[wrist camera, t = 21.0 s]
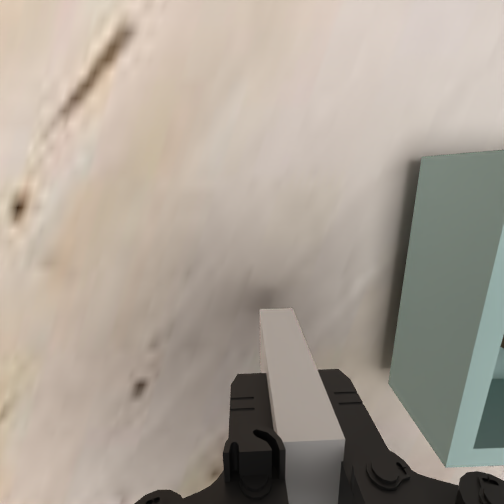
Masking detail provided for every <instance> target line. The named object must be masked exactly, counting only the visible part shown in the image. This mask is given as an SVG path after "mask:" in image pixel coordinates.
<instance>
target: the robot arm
mask: <svg viewBox="0 0 504 504" xmlns="http://www.w3.org/2000/svg"><path fill="white" fill-rule="evenodd" d="M260 366H261V373H253V374H237V376H236V378H235V379H234V381H233V383H232V384H231V397H230V418H229V438H228V440H227V441H226V443H225V447H224V451H223V463H224V470H223V472H222V474H221V475H220V476H219V478H218V479H217V480H216V481H215V482H214V483H213V484H212V485H210V486H209V487H207V488H206V489H204V490H202V491H200V492H198V493H195V494H193V495H191V496H188V497H186V498H184V499H183V498H182V497H181V495H179V494H177V493H175V492H173V491H171V490H157V491H154V492H152V493H149V494H147V495H145V496H143V497H142V498H141V499H140V500H138V501H137V502H136V503H135V504H504V481H503V480H501V479H499V478H497V477H495V476H493V475H490V474H486V473H482V472H478V471H477V472H467V473H466V474H465V475H463V476H462V477H461V478H460V482H459V486H458V485H454V484H451V483H447V482H443V481H439V480H436V479H432V478H428V477H425V476H423V475H420V474H417V473H415V472H414V471H412V470H411V469H410V467H409V466H408V465H407V463H406V462H405V461H404V460H402V459H401V458H400V457H399V456H397V455H396V454H395V453H393V452H391V451H389V449H388V448H387V446H386V445H385V443H384V441H383V439H382V437H381V435H380V433H379V432H378V430H377V428H376V426H375V424H374V422H373V421H372V419H371V417H370V415H369V413H368V411H367V410H366V408H365V406H364V405H363V404H362V400H361V399H360V397H359V395H358V394H357V391H356V389H355V387H354V386H353V384H352V382H351V380H350V379H349V378H348V377H347V376H346V375H345V374H344V373H342V372H341V371H340V370H339V369H328V370H317V367H316V365H315V362H314V360H313V357H312V355H311V352H310V350H309V347H308V345H307V342H306V340H305V337H304V335H303V332H302V330H301V327H300V325H299V322H298V320H297V317H296V315H295V312H294V310H293V308H274V309H260Z"/></svg>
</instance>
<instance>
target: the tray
mask: <svg viewBox="0 0 504 504" xmlns="http://www.w3.org/2000/svg"><path fill="white" fill-rule="evenodd" d="M503 335H504V150H497V151H485V152H473V153H461V154H449V155H437V156H425V157H422V158H421V165H420V172H419V179H418V185H417V192H416V199H415V206H414V213H413V219H412V226H411V233H410V240H409V247H408V253H407V260H406V267H405V274H404V281H403V287H402V294H401V301H400V308H399V314H398V321H397V328H396V335H395V342H394V348H393V355H392V362H391V369H390V376H389V382H388V384H389V385H390V387H391V388H392V390H393V391H394V393H395V394H396V396H397V397H398V399H399V400H400V402H401V403H402V404H403V406H404V407H405V409H406V410H407V412H408V413H409V415H410V416H411V418H412V419H413V421H414V422H415V423H416V425H417V426H418V428H419V429H420V431H421V432H422V434H423V435H424V437H425V438H426V440H427V441H428V443H429V444H430V445H431V447H432V448H433V450H434V451H435V453H436V454H437V456H438V457H439V459H440V460H441V462H442V463H443V464H444V466H445V467H446V468H447V467H473V466H499V465H504V349H503V348H502V347H500V346H501V342H502V339H503Z"/></svg>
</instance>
